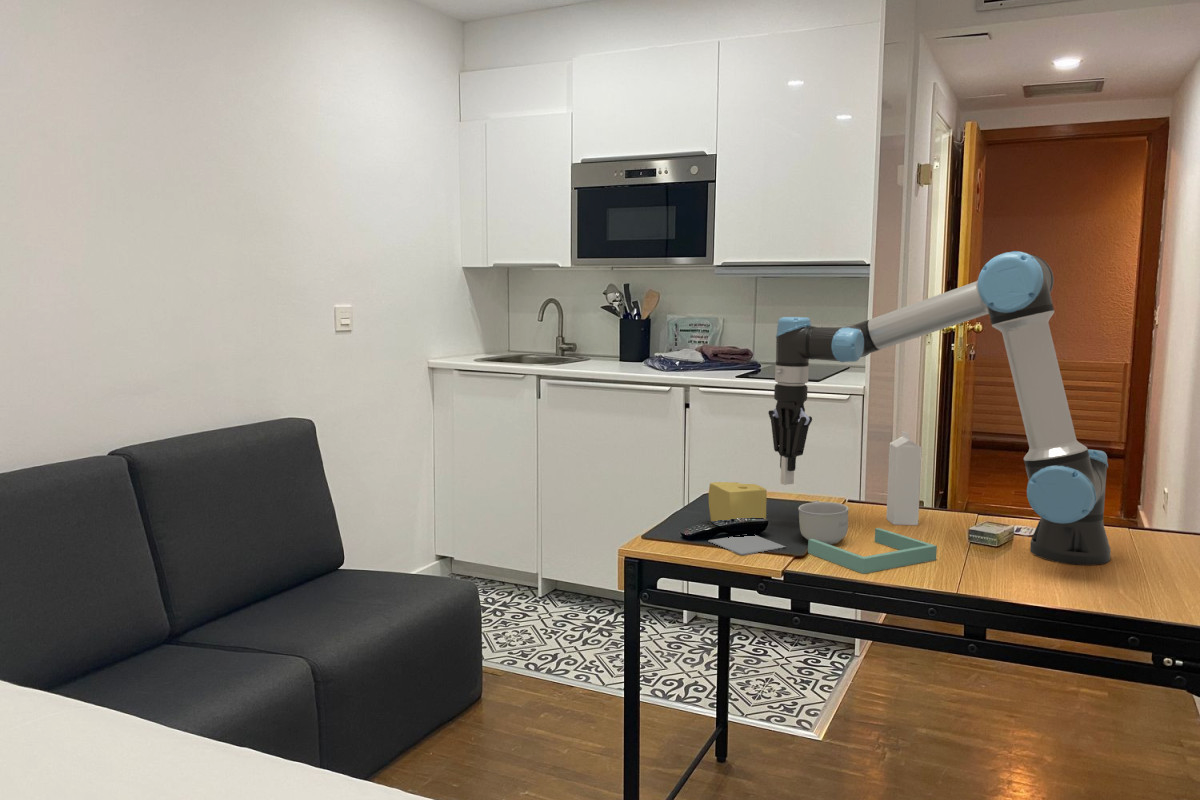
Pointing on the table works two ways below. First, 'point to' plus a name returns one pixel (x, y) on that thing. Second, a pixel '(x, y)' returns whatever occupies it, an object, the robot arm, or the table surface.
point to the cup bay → (906, 554)
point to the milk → (903, 481)
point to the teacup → (823, 521)
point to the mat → (746, 544)
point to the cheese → (736, 501)
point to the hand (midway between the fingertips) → (787, 483)
